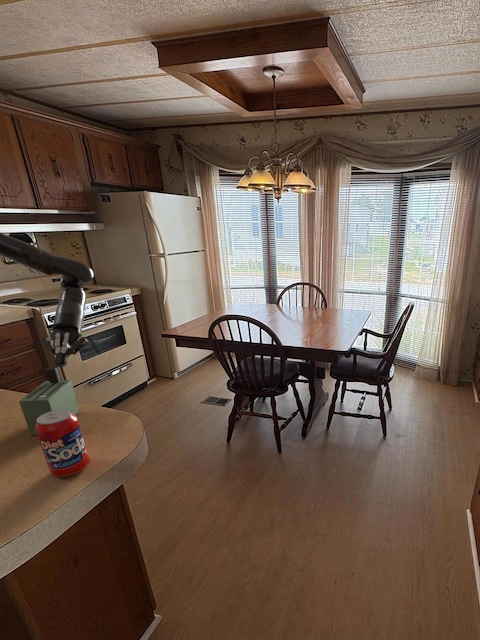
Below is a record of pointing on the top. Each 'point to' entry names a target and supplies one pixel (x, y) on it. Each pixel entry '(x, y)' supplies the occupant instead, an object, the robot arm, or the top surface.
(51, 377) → the slider
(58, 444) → the soda can
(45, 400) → the toaster
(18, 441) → the top surface
